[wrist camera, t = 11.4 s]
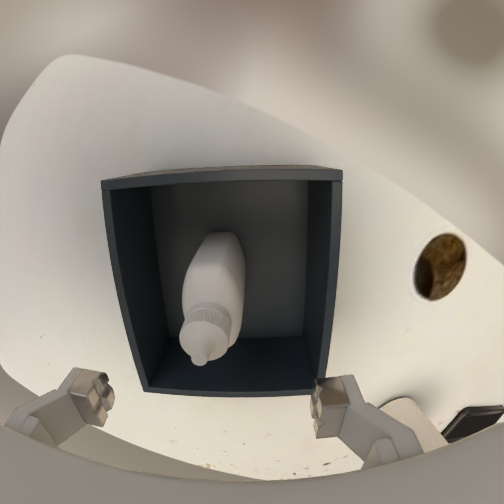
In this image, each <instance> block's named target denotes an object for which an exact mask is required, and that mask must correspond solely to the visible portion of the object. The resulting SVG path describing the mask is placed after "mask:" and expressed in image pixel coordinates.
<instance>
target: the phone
mask: <svg viewBox="0 0 504 504" xmlns="http://www.w3.org/2000/svg"><path fill="white" fill-rule="evenodd" d="M503 414H504V407H503V406H492V407H468V408H465V409H463V410H462V411H461V412H460V413H459V414H458V416H457V417H456V418H455V419H454V420H453V421H452V422H451V424H450V425H449V426H448V427H447V428H446V429H445V430H444V431H443V432H442V433H441V435H442V436H443V437H444V439H445V440H446V441H447V442H448V444H449V443H453V442H456V441H458V440H461V439H463V438H465V437H468V436H470V435H472V434H474V433H477V432H479V431H481V430H483V429H485V428H487V427H489V426H492V425H494V424H495V423H496V422H497V421H498V420H499V418H500V417H501V416H502V415H503Z"/></svg>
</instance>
